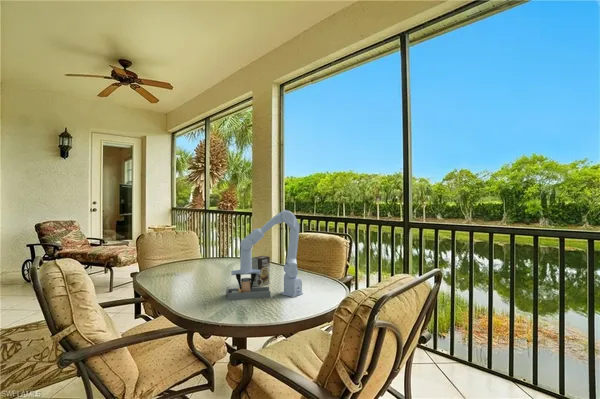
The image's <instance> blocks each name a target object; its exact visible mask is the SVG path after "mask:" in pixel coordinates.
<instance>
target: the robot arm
mask: <svg viewBox="0 0 600 399" xmlns="http://www.w3.org/2000/svg"><path fill="white" fill-rule="evenodd" d="M283 223H284V224H286V226H288V228H289V238H288V245H287V246H288V247H287V256H286V259H285V264H284V265H283V271H284V274H283V291H280V292H279V293H280V294H281V295H284V296H288V297H290V298H291V297H292V298H295V297H298V296H301V295H303V294H304V293H303V282H302V280H301V279H300V278H299V277H298V273H299V269H298V263H297V257H298V256H297V254H298V247H299V237H300V226H301V225H300V223H299V221H298V220H297V217H296V215H295V214H294V213H293V212H292V211H290V210H288V209H284V210H281V211H280V212H278V213H277V214H275V215H274V216H273V217H272V218H270V219H269V220H268V221H267V222H266V223H265V224H263V226H261V228H259V227H258V228H253V229H252V231H251V232H250V233H249V234H248V235H246V236H245V238H243V239H242V240H240V243H239V245H240V252H239V253H240V255H239V257H240V261H239V262H240V264H239V266H240V267H239V268H240V269H236V270H231V272H230V273H231V274H230V275H231V276H235V278H236V280H237V282H238V286H239V287H238V288H240V289H241V279H242V276H243V275H250V278H251V289H252V288H253V282H254V279H255V277H256V274H260V270H253V269H252V258H253V257H252V256H253V255H252V248H253V245H254V246H255V245H256V244H257V243H258V242H259V241H261V240H262V239H263V238H264V237H265V233H267V232H268V231H269V230H270V229H271V228H273V227H274V226H276V225H277V224H278V225H279V224H283Z"/></svg>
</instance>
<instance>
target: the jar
mask: <svg viewBox="0 0 600 399" xmlns="http://www.w3.org/2000/svg"><path fill="white" fill-rule="evenodd" d="M241 292H251V277H243V278H242V277H241Z"/></svg>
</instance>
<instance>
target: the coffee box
mask: <svg viewBox="0 0 600 399" xmlns="http://www.w3.org/2000/svg"><path fill="white" fill-rule="evenodd" d="M270 260H271V258H270V256H267V255H258V256H254V257H252V269H253V270H260V274H256V277H255V279H254V282H253V285H252V287H253V286H254V287H265V286H266V285H269V284H270V272H271V271H270V263H271V262H270Z"/></svg>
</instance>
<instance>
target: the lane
mask: <svg viewBox="0 0 600 399" xmlns="http://www.w3.org/2000/svg"><path fill="white" fill-rule="evenodd" d="M239 289H240V287H237V288H229V286H226V289H225V300H226V301H234V300H235V301H237V300H251V299H252V300H253V299H267V298H269V299H270V298H273V295H272V292H271V290H270V286H261V287H256V286H254V287H253V286H252V289H251V292H241V293H232V291H239Z"/></svg>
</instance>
